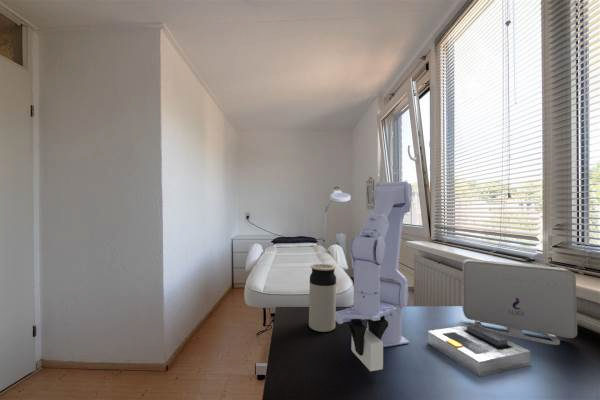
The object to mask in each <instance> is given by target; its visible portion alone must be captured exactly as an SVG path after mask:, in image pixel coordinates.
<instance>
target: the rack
mask: <svg viewBox="0 0 600 400" xmlns="http://www.w3.org/2000/svg"><path fill="white" fill-rule="evenodd" d="M484 328H485V327H484ZM484 328H482V327H480V326H478V325H476V324H467V325H461V326H454V327H447V328H439V329H434V330H433V329H432V330H427V344H428V345H430V346H431V347H433V348H434V349H436V350H438V352H440V353H443V354H444V355H445V356H446V357H448V358H449V359H451V360H453V361H454V362H456V363H457V364H459V365H460V366H462V367H463V368H465V369H466V370H469V371H470V373H472V374H475V375H476V376H477V377H479V378H480V377H485V376H490V375H495V374H499V373H502V372H507V371H511V370H515V369H520V368H525V367H530V366H531V365H532V364H531V363H532V361H531V360H532V358H531V357H532V356H531V350H529V349H527V348H524V346H523V347H522V346H521V345H518V344H517V343H514V342H512V341H509V340H508V338H506V337H503V336H501V335H500V334H497V333H493V332H491V331H489V330H486V329H484Z"/></svg>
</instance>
